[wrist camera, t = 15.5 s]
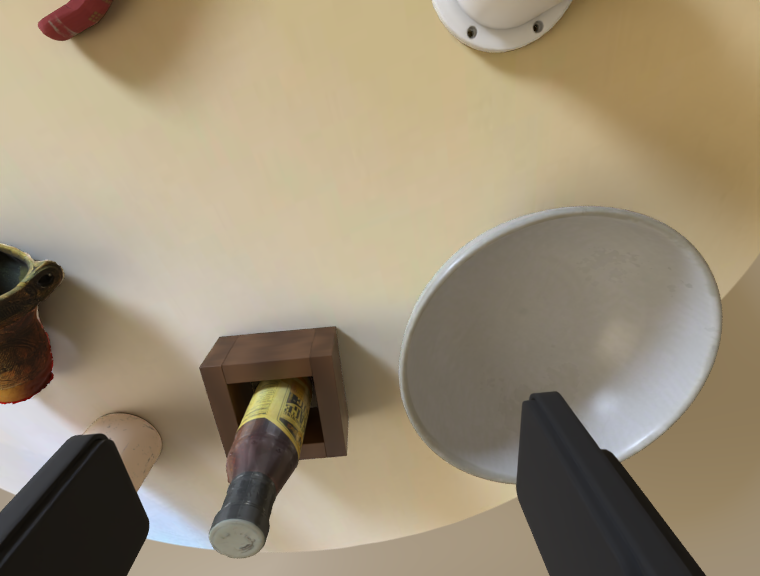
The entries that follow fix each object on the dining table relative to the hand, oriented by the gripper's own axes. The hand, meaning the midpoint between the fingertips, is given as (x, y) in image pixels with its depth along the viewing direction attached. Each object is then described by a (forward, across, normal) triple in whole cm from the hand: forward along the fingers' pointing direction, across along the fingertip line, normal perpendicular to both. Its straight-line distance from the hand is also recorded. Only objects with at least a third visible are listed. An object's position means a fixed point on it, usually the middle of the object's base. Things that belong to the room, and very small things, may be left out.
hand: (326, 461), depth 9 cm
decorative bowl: (+32, -16, +13) cm, 38 cm away
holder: (+32, +10, +20) cm, 39 cm away
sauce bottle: (+32, +10, +20) cm, 39 cm away
